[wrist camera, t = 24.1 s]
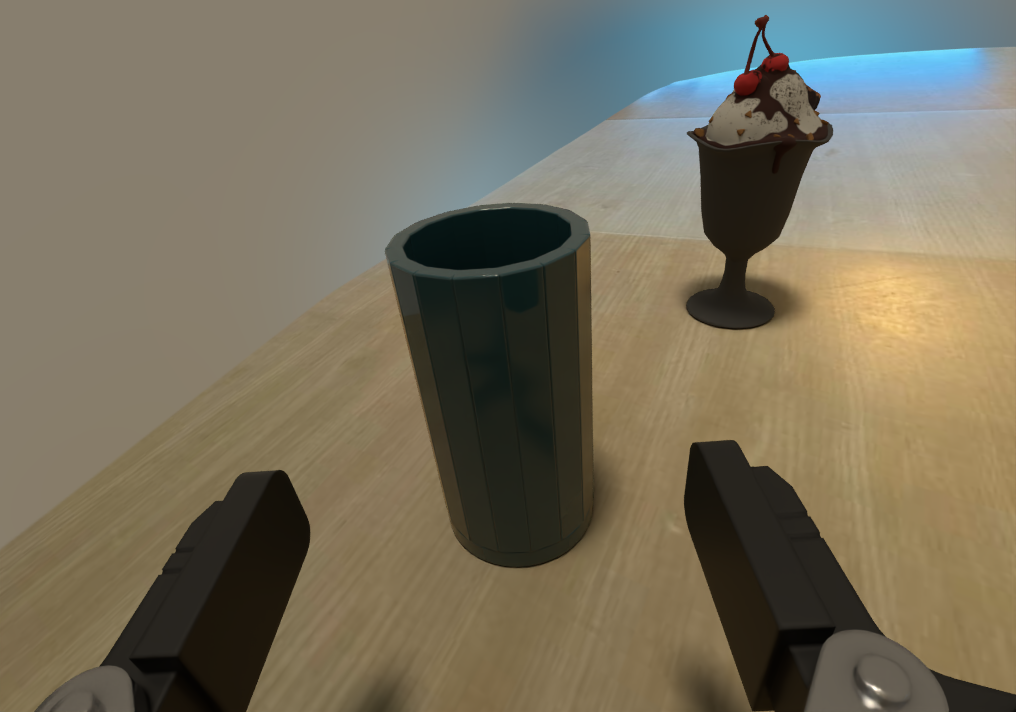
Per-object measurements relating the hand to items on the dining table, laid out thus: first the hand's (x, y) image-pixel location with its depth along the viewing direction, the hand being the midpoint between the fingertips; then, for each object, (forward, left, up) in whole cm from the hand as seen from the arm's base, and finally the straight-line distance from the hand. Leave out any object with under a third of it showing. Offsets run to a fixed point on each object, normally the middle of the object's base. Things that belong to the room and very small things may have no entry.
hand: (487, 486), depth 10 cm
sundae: (+22, +10, -8) cm, 26 cm away
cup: (+4, +5, -8) cm, 10 cm away
